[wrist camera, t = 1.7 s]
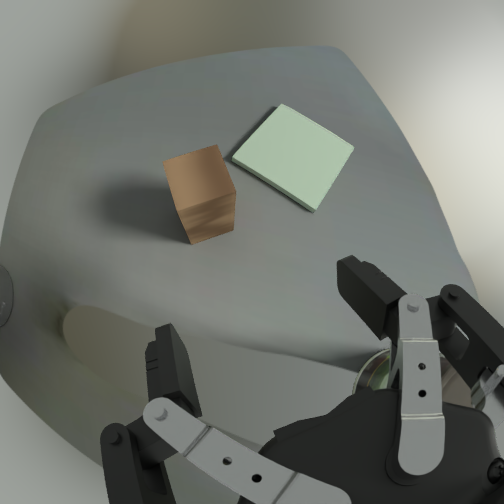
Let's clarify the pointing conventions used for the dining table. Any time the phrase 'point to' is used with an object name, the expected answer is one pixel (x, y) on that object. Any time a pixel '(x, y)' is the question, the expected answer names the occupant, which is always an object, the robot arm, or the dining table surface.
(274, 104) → the dining table surface
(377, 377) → the coffee can
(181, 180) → the walnut block
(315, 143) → the rubber mat
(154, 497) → the robot arm
